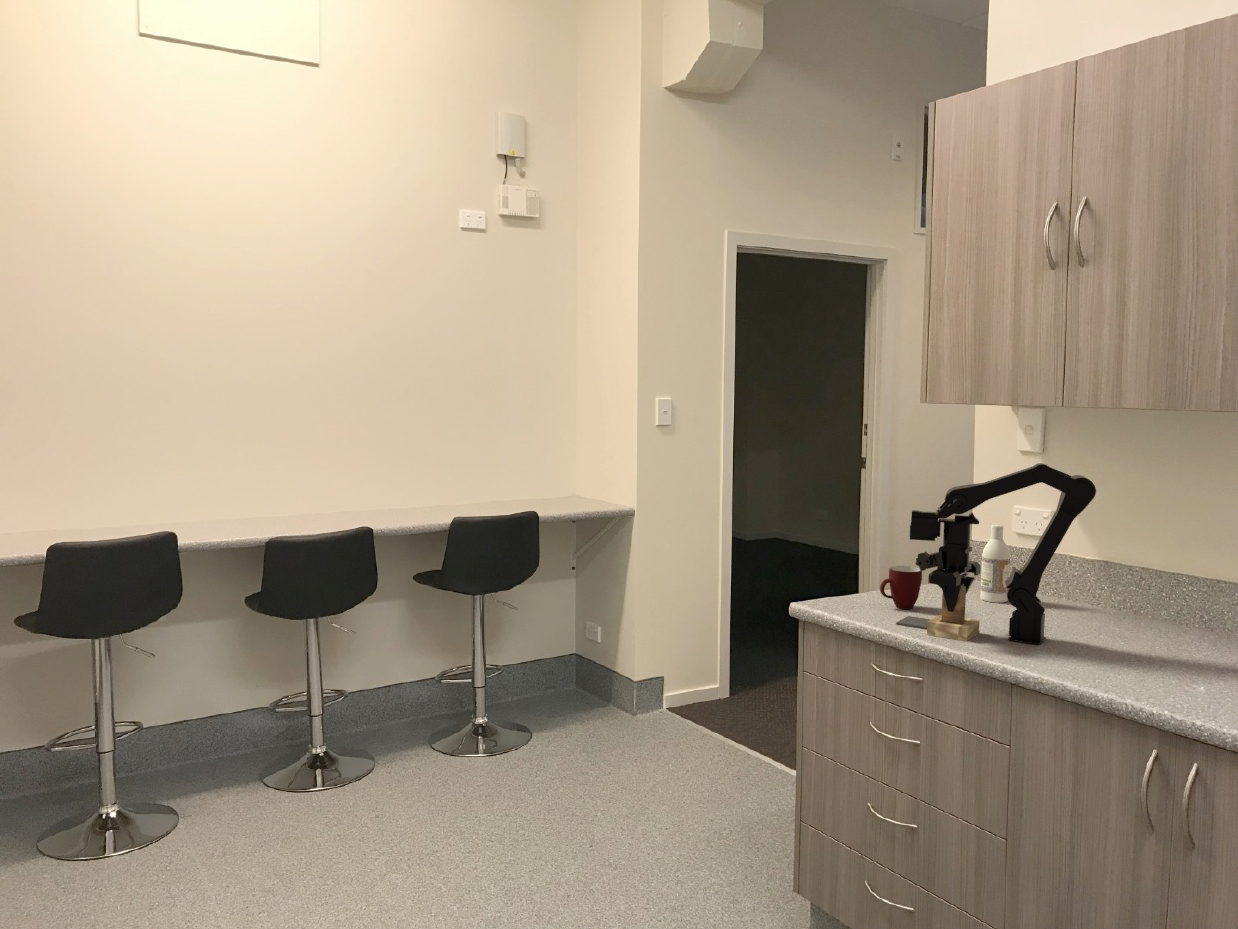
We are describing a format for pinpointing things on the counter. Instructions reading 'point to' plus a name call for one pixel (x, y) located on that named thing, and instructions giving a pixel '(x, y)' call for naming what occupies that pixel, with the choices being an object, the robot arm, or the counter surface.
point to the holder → (953, 629)
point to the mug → (903, 585)
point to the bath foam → (995, 567)
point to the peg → (955, 610)
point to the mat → (914, 622)
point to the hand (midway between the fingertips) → (953, 609)
